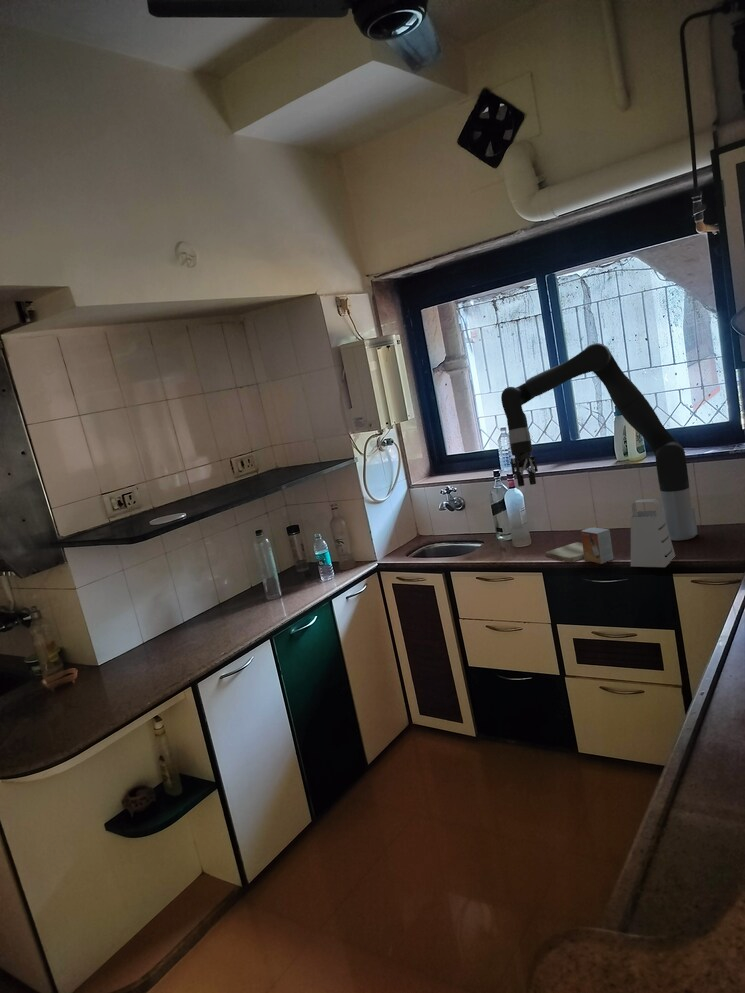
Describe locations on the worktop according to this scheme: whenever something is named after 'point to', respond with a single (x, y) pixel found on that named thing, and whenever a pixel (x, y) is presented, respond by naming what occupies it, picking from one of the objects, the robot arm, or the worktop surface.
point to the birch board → (568, 552)
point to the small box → (597, 545)
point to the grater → (650, 537)
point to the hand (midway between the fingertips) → (527, 485)
